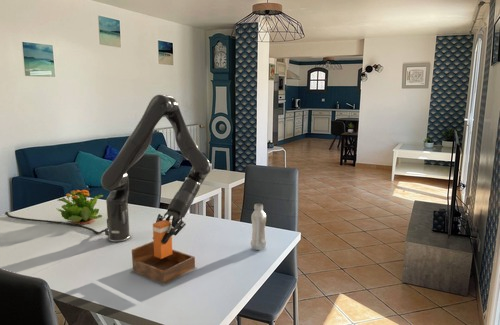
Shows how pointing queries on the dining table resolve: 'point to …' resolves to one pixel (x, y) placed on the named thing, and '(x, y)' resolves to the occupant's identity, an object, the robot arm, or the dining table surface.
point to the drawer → (161, 263)
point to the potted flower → (80, 208)
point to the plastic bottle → (258, 228)
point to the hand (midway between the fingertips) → (158, 241)
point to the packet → (158, 234)
